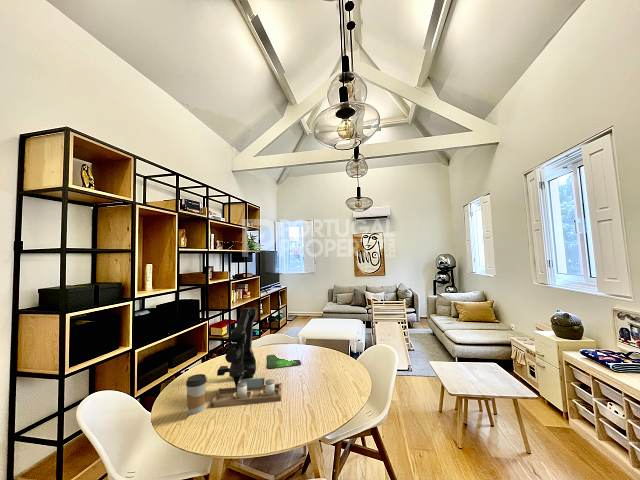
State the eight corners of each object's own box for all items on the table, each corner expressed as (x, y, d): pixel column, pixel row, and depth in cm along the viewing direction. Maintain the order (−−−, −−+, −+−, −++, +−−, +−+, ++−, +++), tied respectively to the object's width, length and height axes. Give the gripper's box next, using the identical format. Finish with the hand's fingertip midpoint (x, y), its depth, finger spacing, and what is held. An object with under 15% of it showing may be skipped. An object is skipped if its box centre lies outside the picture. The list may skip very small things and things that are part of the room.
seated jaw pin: (238, 396, 125) (238, 382, 126) (247, 395, 126) (247, 381, 127) (236, 401, 121) (236, 386, 122) (246, 400, 122) (246, 385, 122)
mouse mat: (266, 355, 187) (266, 354, 187) (296, 352, 192) (296, 351, 192) (267, 370, 161) (266, 368, 161) (302, 366, 165) (302, 364, 166)
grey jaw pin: (264, 393, 127) (265, 379, 127) (274, 392, 128) (274, 378, 128) (265, 398, 123) (265, 383, 123) (274, 397, 124) (275, 382, 124)
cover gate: (241, 387, 134) (241, 378, 135) (262, 385, 136) (262, 376, 136) (240, 389, 132) (240, 380, 133) (262, 387, 134) (262, 378, 134)
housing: (220, 393, 132) (220, 381, 133) (281, 387, 136) (281, 376, 137) (211, 410, 116) (211, 397, 117) (280, 403, 120) (280, 390, 121)
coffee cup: (210, 410, 116) (210, 375, 117) (193, 420, 109) (193, 383, 110) (198, 406, 120) (199, 372, 122) (181, 415, 113) (182, 379, 114)
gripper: (214, 362, 126) (213, 396, 124) (253, 360, 128) (252, 394, 126) (220, 354, 137) (219, 385, 135) (256, 353, 139) (255, 384, 137)
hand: (236, 387), depth 133 cm, fingers closed
